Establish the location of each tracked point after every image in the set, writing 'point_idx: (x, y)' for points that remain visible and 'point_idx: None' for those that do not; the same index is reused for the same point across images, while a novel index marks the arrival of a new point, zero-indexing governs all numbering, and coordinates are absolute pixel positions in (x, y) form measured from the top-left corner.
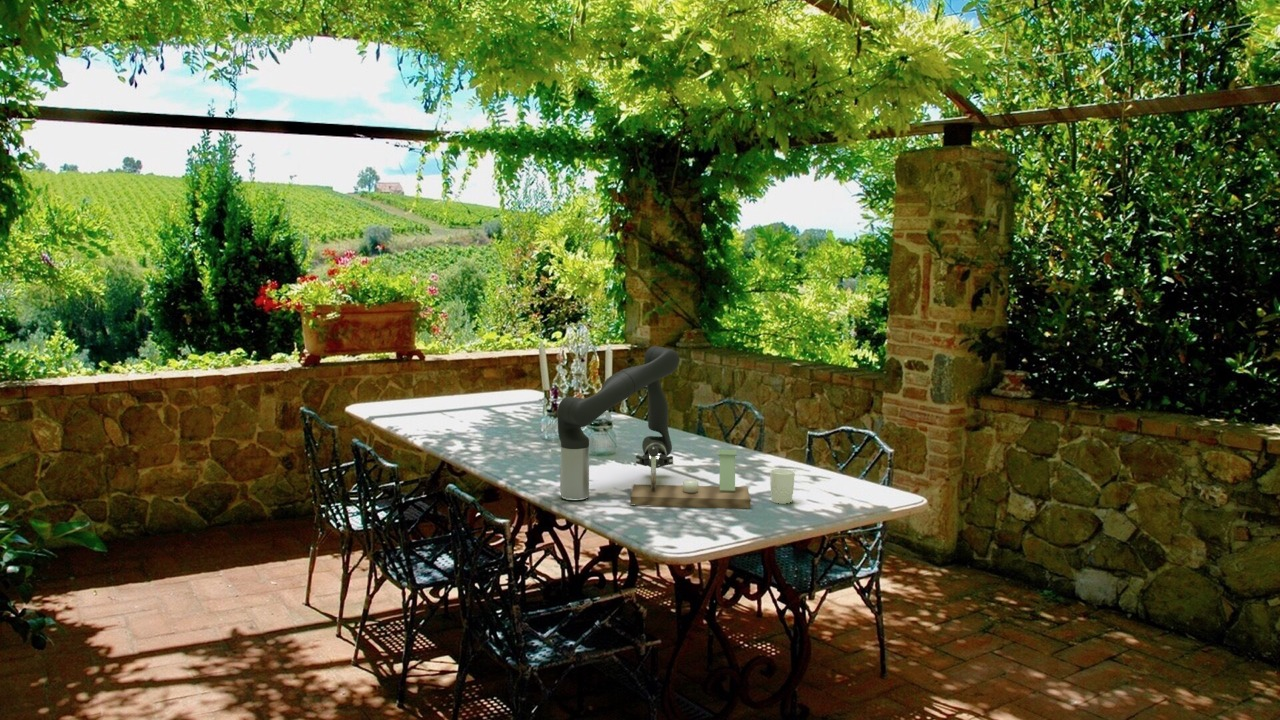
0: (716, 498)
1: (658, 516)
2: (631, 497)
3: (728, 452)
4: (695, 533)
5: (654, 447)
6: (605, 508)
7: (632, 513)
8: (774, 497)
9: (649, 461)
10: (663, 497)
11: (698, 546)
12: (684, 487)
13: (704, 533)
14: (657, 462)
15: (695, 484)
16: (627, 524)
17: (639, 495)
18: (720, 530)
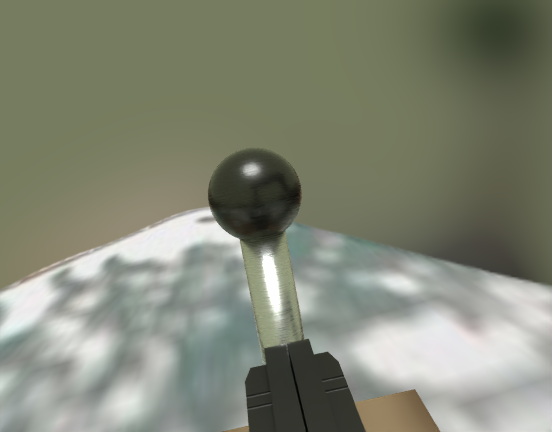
0: None
1: (248, 338)
2: (410, 394)
3: None
4: (147, 269)
5: (237, 151)
6: (497, 357)
7: (351, 338)
8: None
9: (349, 392)
10: (230, 430)
11: (156, 231)
12: None
13: (125, 274)
14: (249, 375)
15: None
16: (324, 265)
17: (377, 423)
18: (76, 297)
